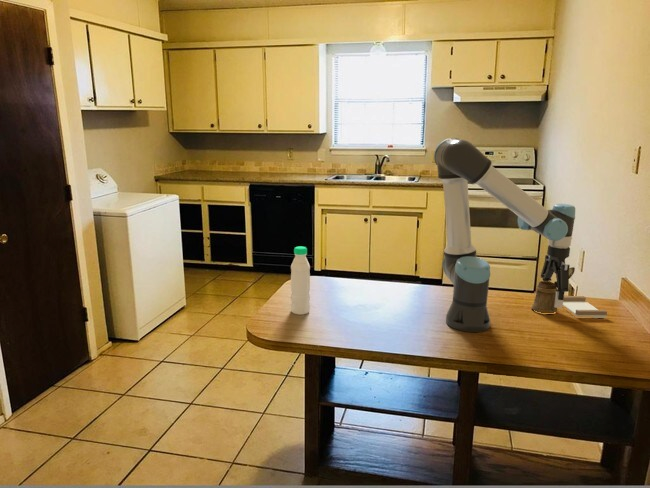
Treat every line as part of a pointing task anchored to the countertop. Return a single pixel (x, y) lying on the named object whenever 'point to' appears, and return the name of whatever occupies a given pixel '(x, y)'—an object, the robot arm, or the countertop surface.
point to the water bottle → (300, 282)
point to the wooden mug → (547, 295)
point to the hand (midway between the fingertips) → (551, 302)
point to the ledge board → (582, 307)
